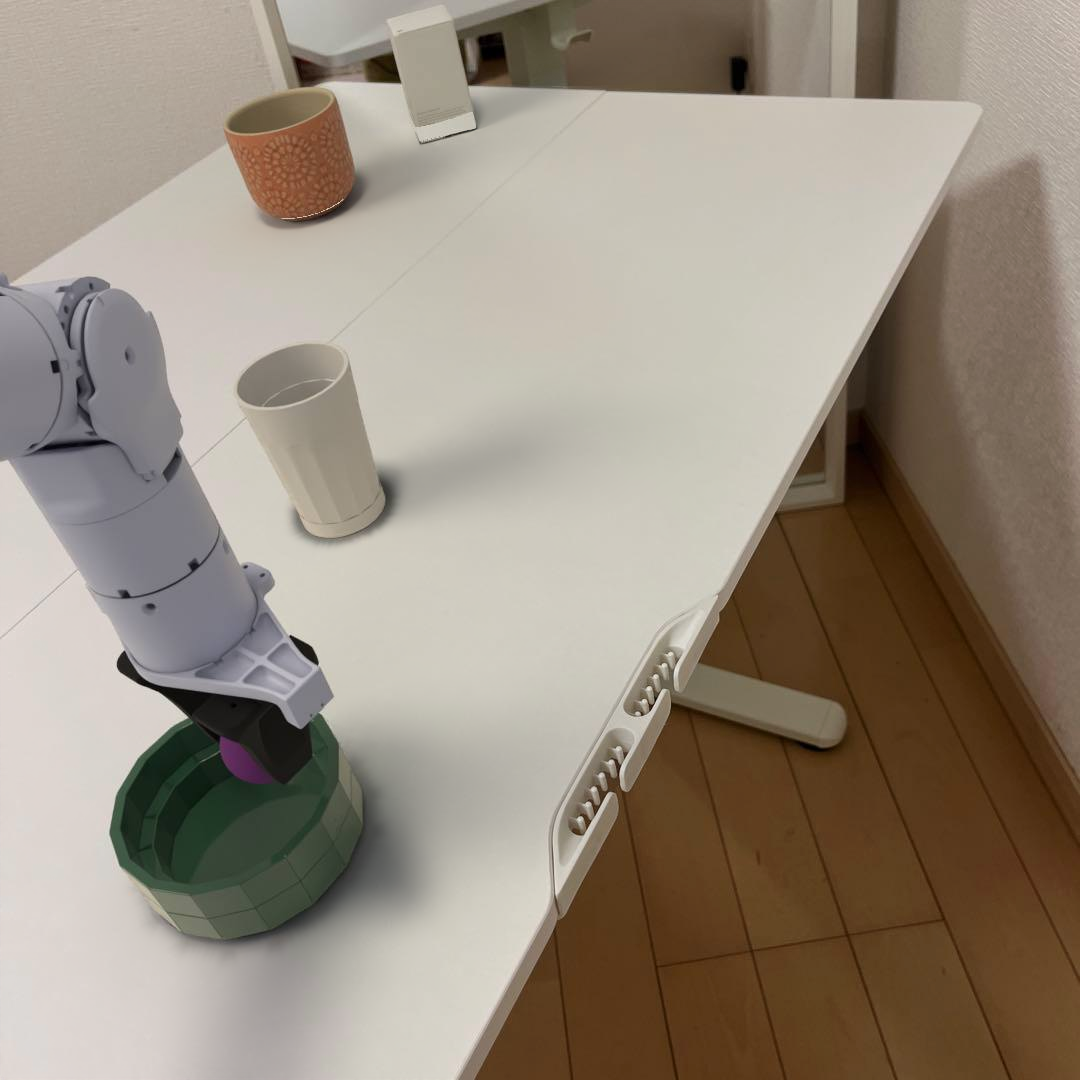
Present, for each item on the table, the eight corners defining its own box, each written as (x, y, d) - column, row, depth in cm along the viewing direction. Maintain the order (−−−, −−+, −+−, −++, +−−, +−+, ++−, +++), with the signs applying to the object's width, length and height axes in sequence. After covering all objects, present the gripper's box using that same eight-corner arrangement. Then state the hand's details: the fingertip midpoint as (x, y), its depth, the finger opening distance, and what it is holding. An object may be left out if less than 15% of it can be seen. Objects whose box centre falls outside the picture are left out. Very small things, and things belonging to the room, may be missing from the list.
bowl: (248, 988, 54) (210, 938, 51) (107, 874, 61) (65, 823, 58) (410, 805, 61) (385, 750, 57) (266, 720, 67) (236, 666, 64)
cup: (405, 470, 84) (360, 335, 76) (384, 541, 78) (332, 403, 70) (306, 478, 85) (252, 346, 77) (278, 549, 79) (216, 414, 72)
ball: (273, 813, 53) (243, 763, 51) (221, 778, 55) (190, 729, 53) (330, 754, 55) (305, 703, 53) (278, 723, 57) (251, 673, 55)
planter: (317, 238, 117) (282, 138, 110) (235, 227, 123) (197, 131, 116) (387, 185, 124) (359, 88, 117) (306, 177, 130) (275, 84, 123)
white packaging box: (478, 129, 131) (454, 18, 123) (418, 145, 131) (390, 35, 123) (469, 109, 137) (445, 1, 129) (411, 124, 137) (383, 17, 128)
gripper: (339, 542, 44) (425, 751, 53) (127, 449, 52) (233, 644, 60) (205, 662, 40) (321, 864, 49) (-1, 542, 48) (131, 735, 57)
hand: (266, 749), depth 54 cm, fingers closed on ball, 4 cm apart
